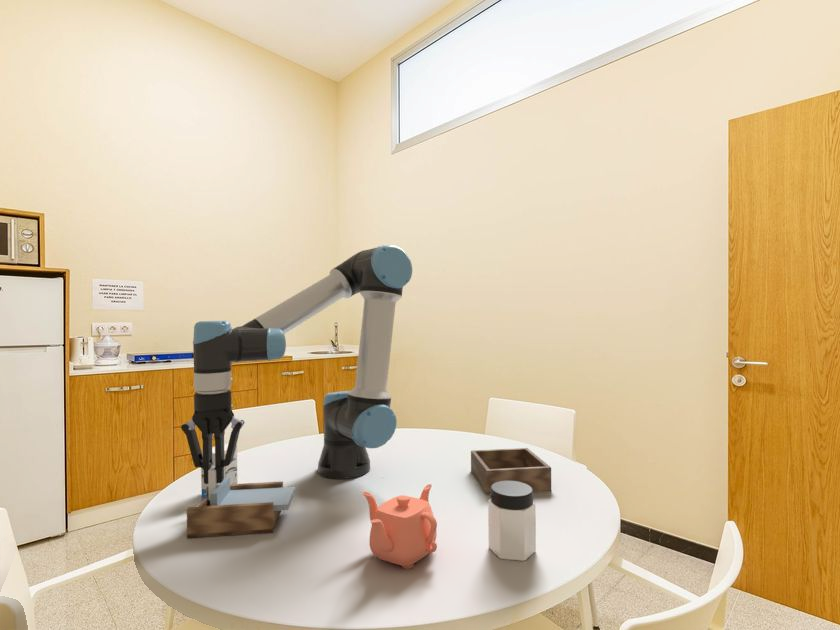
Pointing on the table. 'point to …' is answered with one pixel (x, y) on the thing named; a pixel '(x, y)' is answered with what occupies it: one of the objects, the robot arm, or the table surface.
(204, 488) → the ink box
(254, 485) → the box
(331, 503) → the table surface
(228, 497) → the lid
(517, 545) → the jar
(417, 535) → the teapot
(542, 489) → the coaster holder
